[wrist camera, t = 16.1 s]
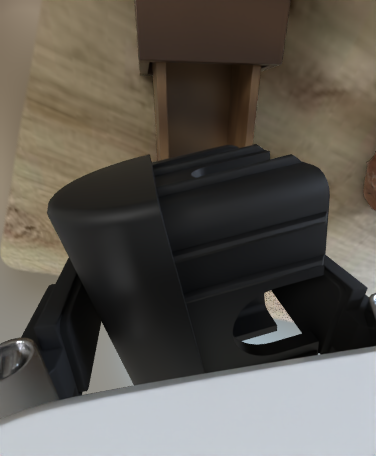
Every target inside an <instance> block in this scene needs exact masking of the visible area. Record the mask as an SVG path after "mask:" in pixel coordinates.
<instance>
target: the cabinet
mask: <svg viewBox="0 0 376 456" xmlns="http://www.w3.org/2000/svg"><path fill="white" fill-rule="evenodd" d="M290 1H291V0H134V3H135V16H136V30H137V44H138V57H139V71H140V75H153V71H152V62H163V63H197V64H231V65H261V71H264V70H267V69H270V68H273V67H276V66H278V65H281V64H282V60H283V52H284V45H285V38H286V31H287V23H288V16H289V9H290Z"/></svg>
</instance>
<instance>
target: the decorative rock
mask: <svg viewBox="0 0 376 456" xmlns="http://www.w3.org/2000/svg"><path fill="white" fill-rule="evenodd" d="M366 163H367V170H366V176H365V182H364V188H363V192H364V197H365V199H366V200H367V202H368V204H369V205H370V207H371V208H372V209H374V210H376V151H375V155H374V156H373V157H372V159H371V160H370V161H368V162H366Z"/></svg>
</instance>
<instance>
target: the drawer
mask: <svg viewBox="0 0 376 456" xmlns="http://www.w3.org/2000/svg"><path fill="white" fill-rule="evenodd" d="M152 71H153V90H154V108H155V127H156V146H157V161H160V160H164V159H169V158H173V157H177V156H181V155H186V154H190V153H194V152H198V151H203V150H207V149H211V148H215V147H220V146H224V145H235V146H237V147H239V148H242V147H246V146H250V145H253V138H254V129H255V119H256V110H257V101H258V91H259V82H260V73H261V65H231V64H197V63H163V62H152Z"/></svg>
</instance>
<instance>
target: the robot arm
mask: <svg viewBox="0 0 376 456" xmlns="http://www.w3.org/2000/svg"><path fill="white" fill-rule="evenodd" d="M366 291H367V287H366V286H365V285H363V284H362V283H361V282H360V281H358V280H357V279H356V278H354V277H353V276H352V275H351V274H349V273H348V272H347V271H345V270H344V269H343V268H342V267H340V266H339V265H338V264H337V263H335V262H334V261H333V260H331V259H330V258H329V257H328V256H326V255H325V265H324V275H321V276H318V277H314V278H311V279H307V280H304V281H300V282H296V283H293V284H289V285H286V286H282V287H279V288H275V289H272V292H273V293H274V295H275V296H276V298H277V299H278V300H279V302H280V303H281V305H282V306H283V307H284V309H285V310H286V312H287V313H288V314H289V316H290V317H291V318H292V320H293V321H294V323H295V324H296V325H297V327H298V328H299V329H300V331H301V332H302V333H306V332H309V331H311V332H312V333H313V335H314V336H315V337H316V338H317V340H318V341H319V345H318V353H320V354H321V355H315V356H309V357H303V358H296V359H290V360H284V361H278V362H272V363H265V364H259V365H253V366H247V367H241V368H235V369H229V370H223V371H217V372H211V373H205V374H199V375H193V376H187V377H181V378H175V379H169V380H163V381H157V382H152V383H146V384H140V385H134V386H128V387H123V388H118V389H112V390H107V391H102V392H96V393H91V394H86V395H82V392H83V391H87V390H88V387H89V383H90V378H91V373H92V367H93V362H94V356H95V352H96V346H97V341H98V336H99V331H100V326H101V319H100V317H99V315H98V313H97V311H96V309H95V307H94V305H93V303H92V301H91V299H90V298H89V296H88V294H87V292H86V290H85V288H84V286H83V284H82V282H81V280H80V278H79V276H78V274H77V272H76V270H75V268H74V266H73V264H72V262H71V260H70V258H68V260H67V262H66V264H65V266H64V268H63V270H62V272H61V274H60V276H59V278H58V280H57V282H56V284H52V285H49V287H48V288H47V290H46V292H45V294H44V295H43V297H42V299H41V301H40V303H39V305H38V307H37V309H36V311H35V312H34V314H33V316H32V318H31V320H30V322H29V324H28V326H27V328H26V329H25V331H24V333H23V335H22V337H21V338H15V339H11V340H8V341H5V342H3V343H1V344H0V456H376V293H375V294H372V295H371V296H370V297H368V296H366V295H365V293H366Z"/></svg>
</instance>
